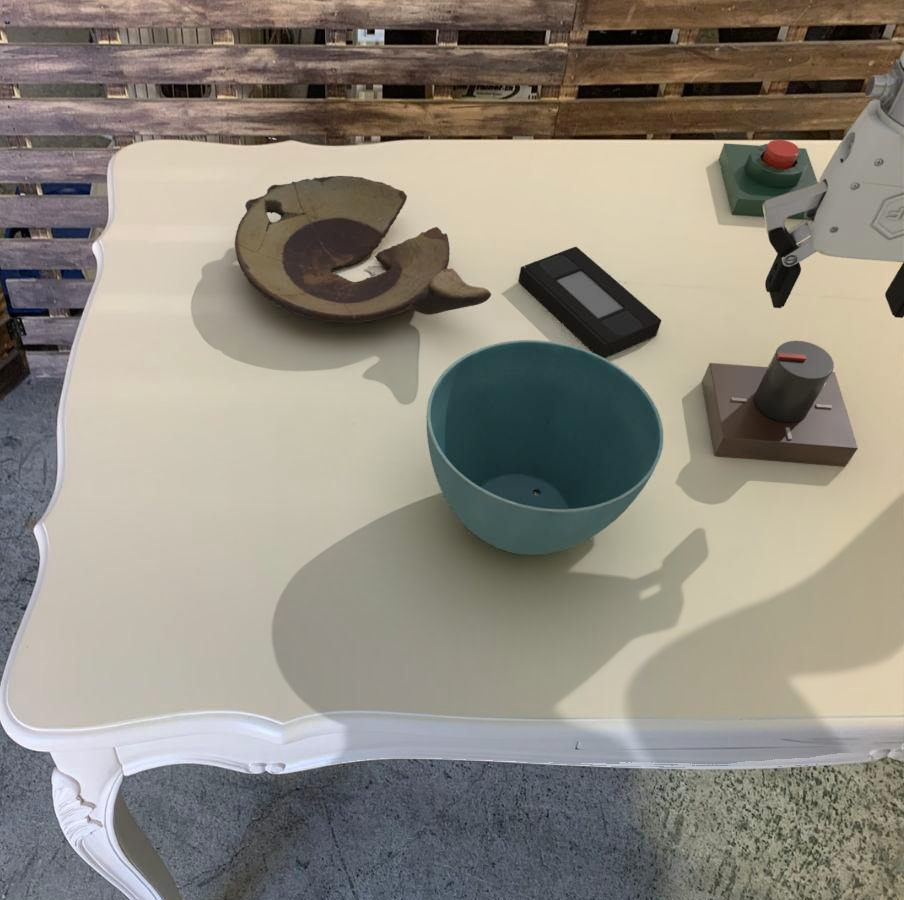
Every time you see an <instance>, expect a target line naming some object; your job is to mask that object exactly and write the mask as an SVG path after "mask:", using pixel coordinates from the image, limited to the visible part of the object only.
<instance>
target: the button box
mask: <svg viewBox="0 0 904 900" xmlns="http://www.w3.org/2000/svg"><path fill="white" fill-rule="evenodd" d="M767 145H768V143H764V144H761V145H760V144H759V145H757V144H739V143H738V144H737V143H725V142H724V143H723V146H722V148H721V151H720V154H719V156H718V163H719V167H720V166H721V168H720V172H721V175H723V176H722V179H723V183H724V188H725V192H726V196H727V201H728V205H729V209H730V213H731V216H741V217H742V216H743V217H757V218H758V217H760V218H764V212H763V204H764V202H765V201H766V200H768V199H771V198H774V197H778V196H781V195H784V194H787V193H790V192H793V191H796V190H799V189H802V188H805V187H809V186H812V185H815V184H817V183H818V179H817V176H816V173H815V170H814V167H813V165H812V162H811V159H810V156H809V153H808V150H807V148H803V147H798V148H799V153H798V155H797V158H796V160H795V162H794V165H793V166H792V168H789V169H777V168H775V167H772V166H769V165H767V164H766V163H765V162H763V161H762V158H763V155H764V153H765V150H766V148H767ZM804 213H805V211H804V212H801V213H798V214H795V215H792V216H789V217H787V218H786V219H785V220H802V221H804V220H805V219H804Z"/></svg>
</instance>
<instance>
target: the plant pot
mask: <svg viewBox="0 0 904 900" xmlns="http://www.w3.org/2000/svg"><path fill="white" fill-rule="evenodd" d="M426 437H427V438H426V439H427V446H428V451H429V456H430V461H431V466H432V469H433V472H434V476H435V478H436V481H437V484H438V486H439V488H440V491H441V493H442V495H443V497H444V498H445V500H446V502H447V504H448V505H449V507H450V509H451V510H452V512H453V513H454V514H455V516H456V517H457V518H458V519H459V520H460V522H461V523H462V524H463V525H464V526H465V527H466V528H467V529H468V530H469V531H470V532H471V533H473V535H475V536H476V537H478V538H479V539H480V540H482V541H484V542H485V543H487V544H488V545H491V546H492V547H495V548H496V549H499V550H502V551H505V552H509V553H512V554H517V555H525V556H526V555H527V556H534V555H535V556H536V555H538V556H539V555H548V554H554V553H558V552H562V551H565V550H568V549H570V548H573V547H575V546H578V545H580V544H582V543H584V542H587V541H588V540H590V539H592V538H593V537H594V536H596V535H599V533H600V532H602V531H603V530H605V529H606V528H607V527H609V526H610V525H611V524H612V523H614V522H615V521H616V520H617V519H618V518H619V517H620V516H621V515H622V514H623V513H624V512H625V511H626V510H627V509H628V508H629V507H630V506H632V504H633V502H634V501H635V500H636V499H637V498H638V496H639V495H640V494H641V492H642V491H643V490H644V488H645V487H646V485H647V484H648V482H649V480H650V478H651V477H652V475H653V473H654V471H655V469H656V467H657V466H658V463H659V461H660V458H661V456H662V451H663V448H664V428H663V422H662V419H661V416H660V412H659V411H658V408H657V406H656V404H655V402H654V401H653V399H652V397H651V396H650V394H649V393H648V391H647V390H646V389H645V388H644V387H643V386H642V384H640V382H639V381H637V380H636V378H634V376H632V375H631V374H630V373H628V372H627V371H626V370H625V369H623V368H622V367H620V366H619V365H617V364H615V363H614V362H612V361H610V360H609V359H607V358H606V357H605V358H603V357H601V356H599V355H597V354H594V353H593V352H592V351H591V350H587V349H584V348H581V347H578V346H575V345H572V344H567V343H563V342H558V341H550V340H541V339H540V340H538V339H522V340H521V339H519V340H518V339H517V340H509V341H508V340H507V341H501V342H497V343H493V344H490V345H486V346H483V347H480V348H478V349H475V350H473V351H470V352H469V353H466V354H465V355H463V356H462V357H460V358H458V359H457V360H455V361H454V362H453V363H451V364H450V365H449V366H447V368H446V369H445V370H444V371H443V372H442V374H441V375H440V376H438V378H437V380H436V382H435V383H434V385H433V387H432V389H431V392H430V395H429V398H428V401H427V407H426ZM534 490H538V491H537V492H539V494H535V491H534Z"/></svg>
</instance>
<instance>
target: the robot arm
mask: <svg viewBox="0 0 904 900" xmlns="http://www.w3.org/2000/svg"><path fill="white" fill-rule="evenodd" d="M864 95H865V97H867V98H875V99H874V100H870V101H869V102H868V104H867V105H866V107H865V108H864V109H863V110H862V111H861V113H860V114H859V115H858V117H857V118H856V119H855V121H854V122H853V124H852V125H851V126H850V128H849V129H848V131H847V132H846V134H845V135H844V137H843V139H842V140H841V142H840V143H839V145H838V146H837V148H836V149H835V151H834V153H833V155H832V156H831V158H830V159H829V161H828V163H827V165H826V167H825V168H824V170H823V172H822V173H821V175H820V177H819V180H817V182H818V183H817V184H815V185H812V186H809V187H805V188H802V189H799V190H796V191H793V192H790V193H787V194H784V195H781V196H778V197H774V198H771V199H768V200H766V201H765V202H764V204H763V212H764V217H763V218H764V223H765V231H766V233H767V237H768V241H769V243H770V245H771V246H772V248H773V249H774V251H775V252H776V253H777V254H776V256H775V259H774V261H773V263H772V265H771V267H770V270H769V271H768V274H767V276H766V279H765V283H764V286H765V291H766V292H767V293H769V296H770V300H771V303H772V306H773V309H782V308H784V307H785V305H786V303H787V301H788V299H789V297H790V295H791V293H792V291H793V289H794V286H795V285H796V283H797V281H798V279H799V276H800V275H801V272H802V266H801V264H800V263H801V262H802V261H804V260H805V259H807V258H809V257H810V256H813V254H815V253H819V254H820V255H823V256H827V257H833V258H843V259H854V260H865V261H866V260H868V261H878V262H879V261H880V262H893V263H901V266H900V267H899V269H898V271H897V272H896V273H895V275H894V277H893V279H892V281H891V282H890V285H889V286H888V288H887V289H886V291H885V295H884V297H885V299H886V302H887V304H888V307H889V310H890V312H891V315H892V316H893V317H894V318H899V319H903V318H904V50H902V53H901V55H900V56H899V58H898V59H895V61H894V63H893V65H892V67H891V69H890V70H889V72H888V73H883V74H882V75H877V74H876V75H875V74H873V75H871V76H870V77H869V78H868V79H867V82H866V85H865V90H864ZM804 211H805V213H804V219H805V220H802V221H800V222H799V223H797V224H796V225H794V226H793V227H791V228H789V229H787V227H786V225H785V221H786V220H787V219H786V218H787V217H789V216H792V215H795V214H798V213H801V212H804Z"/></svg>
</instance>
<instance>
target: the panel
mask: <svg viewBox="0 0 904 900" xmlns="http://www.w3.org/2000/svg"><path fill="white" fill-rule="evenodd" d="M767 368H768V366H756V365H742V364H730V363H718V362H717V363H715V362H709V364H708V365H707V367H706V370H705V373H704V375H703V377H702V379H701V385H702V391H703V396H704V397H703V398H704V402H705V403H704V404H705V407H706V408H705V410H706V414H707V419H708V420H707V421H708V425H709V430H710V437H711V442H712V447H713V454H714V456H715V457H724V458H725V457H726V458H737V459H748V460H749V459H750V460H763V461H775V462H788V463H798V464H799V463H801V464H810V465H813V464H814V465H824V466H835V467H837V466H838V467H847V465H848V464H849V462H850V461H851V459H852V458H853V457H854V455H855V454H856V452H857V450H858V449H859V448H858V444H857V440H856V437H855V435H854V431H853V428H852V424H851V420H850V417H849V414H848V411H847V408H846V405H845V401H844V398H843V394H842V391H841V388H840V385H839V382H838V378H837V374H836V372H834V371H832V373H831V375H830V376H829V378H828V380H827V382H826V383H825V385H824V387H823V389H822V390H821V392H820V394H819V395H818V397H817V399H816V401H815V402H814V404H813V406H812V408H811V409H810V411H809V413H808V414H807V416H806V417H805V418H803V419H802V420H800V421H797V422H781V421H777V420H774V419H771V418H769V417H768V416H766V415H764V414H763V413H762V412H761V411H760V410H759V409H758V408H757V406H756V404H755V401H754V395H755V393H756V391H757V389H758V387H759V385H760V383H761V380H762V378H763V376H764V374H765V372H766V370H767Z"/></svg>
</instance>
